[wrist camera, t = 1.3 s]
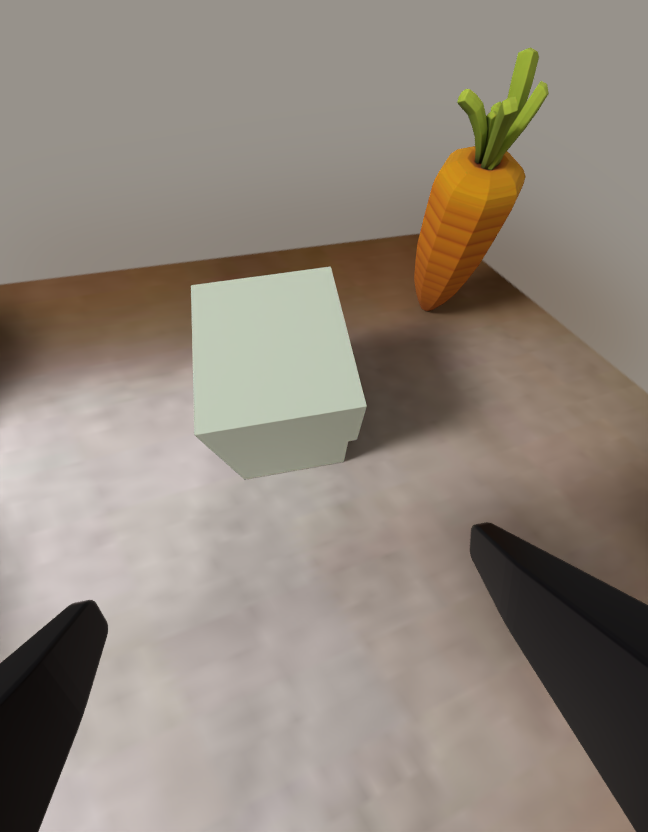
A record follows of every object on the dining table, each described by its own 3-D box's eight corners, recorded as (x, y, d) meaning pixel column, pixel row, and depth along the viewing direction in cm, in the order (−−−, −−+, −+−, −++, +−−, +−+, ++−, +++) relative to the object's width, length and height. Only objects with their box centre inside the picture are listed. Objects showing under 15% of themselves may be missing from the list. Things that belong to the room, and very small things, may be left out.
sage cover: (350, 460, 22) (366, 406, 14) (244, 479, 22) (194, 435, 13) (328, 359, 25) (330, 266, 17) (235, 374, 25) (191, 285, 16)
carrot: (426, 343, 26) (542, 105, 12) (384, 306, 27) (445, 58, 14) (466, 312, 27) (614, 66, 13) (424, 279, 29) (517, 26, 15)
